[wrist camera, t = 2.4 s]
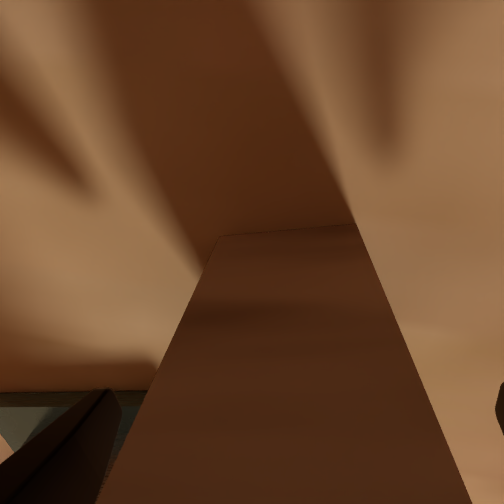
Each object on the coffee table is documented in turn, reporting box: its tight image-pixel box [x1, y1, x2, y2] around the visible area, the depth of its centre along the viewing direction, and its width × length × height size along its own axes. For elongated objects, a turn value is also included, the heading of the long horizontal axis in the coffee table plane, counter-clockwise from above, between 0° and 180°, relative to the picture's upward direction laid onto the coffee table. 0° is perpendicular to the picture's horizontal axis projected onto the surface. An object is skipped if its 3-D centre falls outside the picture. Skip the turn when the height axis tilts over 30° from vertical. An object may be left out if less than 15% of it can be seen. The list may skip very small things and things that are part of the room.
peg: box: [96, 224, 472, 504], centre depth 8 cm, size 4×4×8 cm
